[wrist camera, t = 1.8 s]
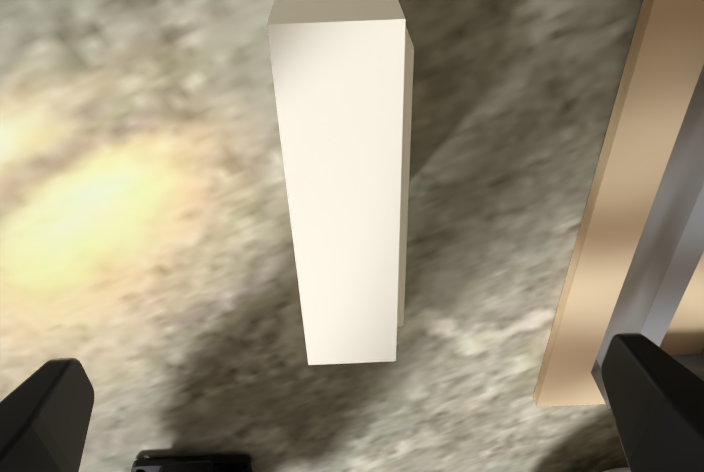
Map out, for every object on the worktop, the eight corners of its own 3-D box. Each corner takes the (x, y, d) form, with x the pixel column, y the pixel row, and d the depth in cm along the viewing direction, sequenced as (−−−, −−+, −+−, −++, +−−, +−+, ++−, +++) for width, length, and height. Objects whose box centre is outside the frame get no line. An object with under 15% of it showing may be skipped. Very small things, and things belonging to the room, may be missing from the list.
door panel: (384, 214, 20) (405, 361, 15) (314, 217, 20) (308, 365, 15) (386, -53, 15) (419, 18, 9) (291, -49, 15) (266, 24, 9)
